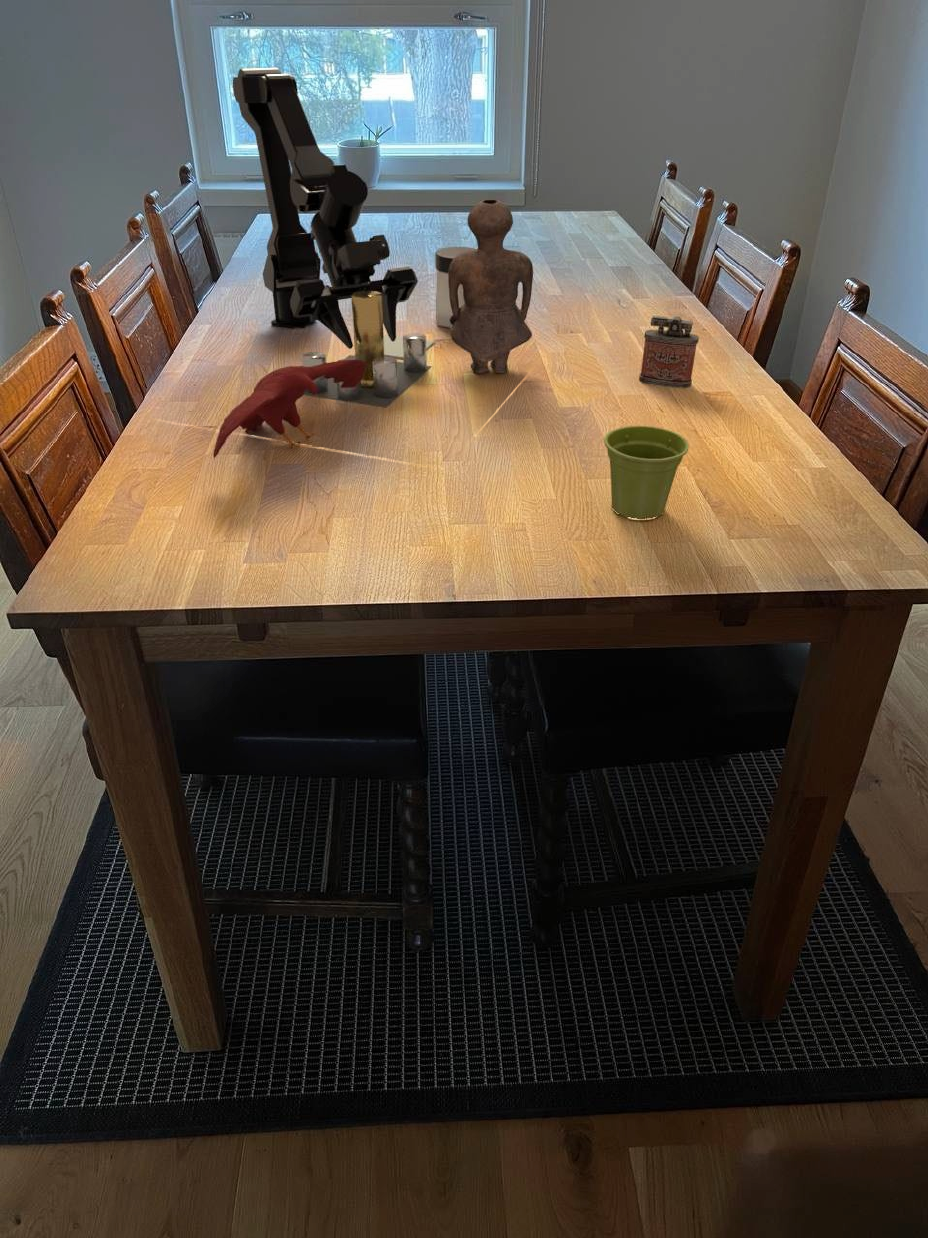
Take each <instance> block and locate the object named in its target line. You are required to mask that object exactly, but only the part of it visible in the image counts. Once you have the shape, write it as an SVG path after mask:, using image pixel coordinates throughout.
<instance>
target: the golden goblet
mask: <svg viewBox="0 0 928 1238" xmlns="http://www.w3.org/2000/svg"><path fill="white" fill-rule="evenodd" d="M350 299H351V311H352V312H351V315H352V327H353V328H352V329H353V347H354V356H355V360H362V361H364V362H366V363H367V366H366V369H365V371H364V375H363V376H362V379H361V385H362V388H366V389H374V383H373V363H372V361H373V359H375V358H378V357H385V356H384V336H385V334H384V324H383V310H382V294H381V293H379V292H376V291H358V292H355V293H353V294H352V295H351V298H350Z"/></svg>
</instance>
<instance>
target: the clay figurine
mask: <svg viewBox="0 0 928 1238" xmlns="http://www.w3.org/2000/svg"><path fill="white" fill-rule="evenodd" d="M513 224H514V218H513V214H512V212H511V210H510V208H509V206H508V205H506V204H505V203H504V202H502V201H501V200H498V199H494V198H492V199H489V198H488V199H484V200H481V201H479V202H478V203H476V204H475V205H474V206H473V207H472V208H471V209H470V212H469V214H468V215H467V225H468V228H469V230H470V232H472V234H473V235H474V237H475V239H476V243H477V248H476V249H477V250H473V251H467V252H463V253H460V254H458V255H457V256H456V257H455V258H454V259H453V260H452V262H451V264H450V266H449V273H448V283H449V298H450V305H451V309H452V313H453V315H452V316H451V318H450V323H451V324H452V327H451V328H450V330H449V331H450V338H451V340H452V342H453V343H454V344H455V345H457V346H458V347H460V348H461V349H462V350H463V351H466V352H467V353H469V354H470V357H471V360H472V363H471V364H470V368H471V370H472V371H473V372H474V373H476V374H484V373H487V372H488V371H489V364H490V366H491V367H492V368H493V373H495V374H505V373H507V372H508V359H509V356H510V353H511V351H512V350H514V349H516V348H518V347H519V346H521V345H523V344H525V343H527V342H528V341H529V340H531V338H532V337H533V332H532V330H531V329H530V327H529V326H528V325H527V323H526V321H525V320H526V319H527V316H528V312H529V308H530V305H531V300H532V298H531V297H532V293H533V292H532V291H533V289H532V288H533V280H534V267H533V263H532V261H531V259H530V257H528V255H526V254H525V253H523V252H521V251H517V250H510V249H506V248H505V247H504V240H505V238H506V236H507V234H508V233H509V232H510V231H511V229H512V226H513ZM520 283H521V285H522V296H521V297H522V298H521V306H520V307H521V308H519V307H518V305H517V299H518V296H519V284H520ZM460 284H462V286H463V297H464V302H465V303H464V305H463V306H462V307H460V308H459V299H458V287H459V285H460ZM489 362H490V363H489Z"/></svg>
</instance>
